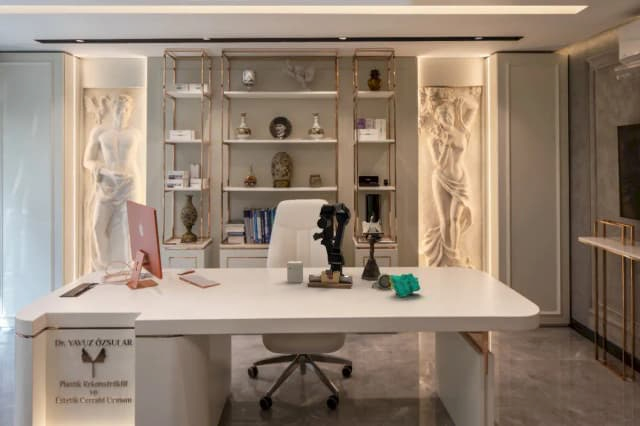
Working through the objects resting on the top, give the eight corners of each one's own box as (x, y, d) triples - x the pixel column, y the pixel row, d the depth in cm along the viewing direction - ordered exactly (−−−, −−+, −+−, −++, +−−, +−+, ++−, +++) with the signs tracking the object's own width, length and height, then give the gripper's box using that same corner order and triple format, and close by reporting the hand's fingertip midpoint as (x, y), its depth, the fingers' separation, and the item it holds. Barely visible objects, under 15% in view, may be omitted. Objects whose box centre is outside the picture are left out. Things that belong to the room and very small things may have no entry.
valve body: (310, 280, 256) (310, 270, 256) (352, 282, 253) (352, 271, 253) (308, 282, 252) (308, 271, 252) (351, 283, 249) (351, 273, 248)
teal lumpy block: (389, 276, 241) (413, 265, 238) (399, 298, 238) (424, 288, 236) (384, 276, 227) (410, 265, 224) (395, 300, 225) (421, 289, 222)
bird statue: (386, 282, 259) (387, 216, 257) (361, 282, 260) (362, 216, 258) (384, 276, 276) (385, 214, 273) (361, 275, 277) (361, 214, 274)
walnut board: (311, 282, 260) (311, 279, 260) (352, 283, 257) (352, 280, 257) (307, 286, 248) (307, 284, 248) (350, 288, 245) (350, 285, 245)
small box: (303, 280, 264) (303, 261, 263) (302, 282, 259) (302, 263, 258) (288, 280, 265) (288, 260, 264) (287, 282, 259) (286, 262, 259)
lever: (328, 276, 254) (325, 269, 244) (333, 276, 253) (331, 269, 244) (327, 279, 253) (325, 273, 243) (333, 280, 253) (331, 273, 243)
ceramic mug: (391, 285, 252) (391, 271, 251) (392, 289, 244) (392, 274, 243) (371, 285, 252) (371, 271, 252) (372, 289, 244) (372, 274, 244)
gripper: (316, 225, 275) (316, 253, 276) (311, 228, 256) (311, 258, 257) (336, 225, 273) (336, 253, 274) (332, 229, 254) (332, 259, 256)
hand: (328, 256), depth 265 cm, fingers closed
